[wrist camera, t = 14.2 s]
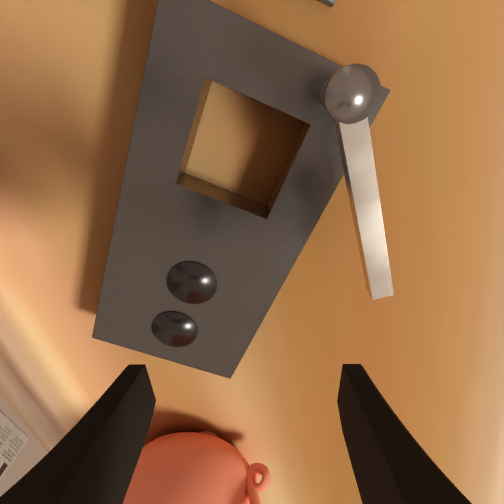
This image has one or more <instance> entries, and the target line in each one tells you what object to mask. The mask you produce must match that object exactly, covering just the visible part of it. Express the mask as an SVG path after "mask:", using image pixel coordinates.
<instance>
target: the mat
mask: <svg viewBox="0 0 504 504" xmlns="http://www.w3.org/2000/svg"><path fill="white" fill-rule="evenodd" d="M319 1H321V2H323V3H324V4H326V5H328V6H330V7H332V6H333V5H334V4H335V2H336V0H319Z"/></svg>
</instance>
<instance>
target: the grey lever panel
mask: <svg viewBox="0 0 504 504" xmlns="http://www.w3.org/2000/svg"><path fill="white" fill-rule="evenodd" d="M342 67H343V66H341V65H339V64H337V63H335V62H333V61H331V60H329V59H327V58H325V57H323V56H321V55H318V54H316V53H314V52H312V51H310V50H308V49H306V48H304V47H302V46H300V45H298V44H296V43H294V42H292V41H290V40H288V39H286V38H284V37H282V36H280V35H278V34H276V33H274V32H272V31H270V30H268V29H266V28H264V27H262V26H260V25H258V24H256V23H254V22H252V21H250V20H248V19H246V18H244V17H242V16H240V15H238V14H236V13H234V12H232V11H230V10H228V9H226V8H224V7H222V6H220V5H218V4H215V3H213V2H211V1H209V0H158V5H157V10H156V15H155V20H154V25H153V30H152V35H151V40H150V46H149V51H148V56H147V61H146V66H145V71H144V76H143V81H142V86H141V91H140V96H139V101H138V106H137V111H136V117H135V122H134V127H133V132H132V137H131V142H130V147H129V152H128V157H127V162H126V167H125V172H124V177H123V182H122V187H121V193H120V198H119V203H118V208H117V213H116V218H115V223H114V228H113V233H112V238H111V243H110V248H109V253H108V258H107V263H106V269H105V274H104V279H103V284H102V289H101V294H100V299H99V304H98V309H97V314H96V319H95V324H94V329H93V334H92V338H95V339H98V340H102V341H105V342H109V343H112V344H115V345H119V346H122V347H125V348H129V349H132V350H135V351H139V352H142V353H146V354H149V355H152V356H156V357H159V358H162V359H166V360H169V361H173V362H176V363H179V364H183V365H186V366H189V367H193V368H196V369H199V370H203V371H206V372H210V373H213V374H216V375H220V376H223V377H226V378H230V379H231V377H232V375H233V373H234V371H235V370H236V368H237V366H238V364H239V362H240V361H241V359H242V357H243V355H244V353H245V351H246V350H247V348H248V346H249V344H250V342H251V341H252V339H253V337H254V335H255V333H256V332H257V330H258V328H259V326H260V324H261V323H262V321H263V319H264V317H265V315H266V314H267V312H268V310H269V308H270V306H271V305H272V303H273V301H274V299H275V297H276V296H277V294H278V292H279V290H280V288H281V287H282V285H283V283H284V281H285V279H286V278H287V276H288V274H289V272H290V270H291V269H292V267H293V265H294V263H295V261H296V260H297V258H298V256H299V254H300V252H301V250H302V249H303V247H304V245H305V243H306V241H307V240H308V238H309V236H310V234H311V232H312V231H313V229H314V227H315V225H316V223H317V222H318V220H319V218H320V216H321V214H322V213H323V211H324V209H325V207H326V205H327V204H328V202H329V200H330V198H331V196H332V195H333V193H334V191H335V189H336V187H337V186H338V184H339V182H340V180H341V178H342V177H343V175H344V170H343V165H342V160H341V154H340V149H339V144H338V139H337V134H336V129H335V124H334V119H333V118H331V117H330V116H329V115H328V113H327V112H326V110H325V108H324V105H323V104H322V102H321V100H320V89H321V87H322V85H323V83H324V82H325V81H326V80H327V79H329V78H330V76H331V75H332V74H333V73H334V72H335V71H337V70H338V69H340V68H342ZM212 80H213V81H216V82H218V83H220V84H222V85H224V86H227V87H229V88H231V89H233V90H235V91H238V92H240V93H242V94H244V95H246V96H249V97H251V98H253V99H255V100H258V101H260V102H262V103H264V104H266V105H269V106H271V107H273V108H275V109H277V110H280V111H282V112H284V113H286V114H288V115H291V116H293V117H295V118H297V119H299V120H302V121H304V125H303V127H302V129H301V131H300V133H299V136H298V138H297V140H296V142H295V144H294V147H293V149H292V151H291V153H290V155H289V158H288V160H287V162H286V164H285V167H284V169H283V171H282V173H281V175H280V178H279V180H278V182H277V184H276V186H275V189H274V191H273V193H272V195H271V197H270V200H269V202H268V204H267V206H265V205H263V204H260V203H258V202H255V201H253V200H250V199H248V198H245V197H243V196H240V195H238V194H235V193H233V192H230V191H228V190H225V189H223V188H220V187H217V186H215V185H212V184H210V183H207V182H205V181H202V180H200V179H197V178H195V177H192V176H190V175H187V174H185V170H186V166H187V163H188V160H189V156H190V153H191V149H192V146H193V143H194V139H195V136H196V132H197V129H198V126H199V122H200V119H201V115H202V112H203V109H204V105H205V102H206V99H207V95H208V92H209V88H210V85H211V82H212ZM389 92H390V90H389V89H387V88H385V87H383V86H381V85H380V97H379V101H378V103H377V105H376V107H375V109H374V110H373V112H372V113H371V114H370V115H369V116H368V123H369V128H370V126H371V124H372V122H373V121H374V119H375V117H376V115H377V113H378V112H379V110H380V108H381V106H382V104H383V103H384V101H385V99H386V97H387V95H388V94H389Z"/></svg>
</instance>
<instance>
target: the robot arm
mask: <svg viewBox="0 0 504 504" xmlns="http://www.w3.org/2000/svg"><path fill="white" fill-rule="evenodd" d="M155 402H156V399H155V396H154V392H153V389H152V386H151V382H150V379H149V376H148V372H147V369H146V366H145V365H128V366H127V367H126V368H125V369H124V371H123V372H122V373H121V374H120V375H119V376H118V378H117V379H116V380H115V381H114V382H113V383H112V385H111V386H110V387H109V388H108V389H107V390H106V392H105V393H104V394H103V395H102V396H101V397H100V399H99V400H98V401H97V402H96V403H95V404H94V405H93V406H92V407H91V409H90V410H89V411H88V412H87V413H86V414H85V415H84V416H83V417H82V419H81V420H80V421H79V422H78V423H77V424H76V425H75V426H74V427H73V428H72V429H71V430H70V431H69V432H68V433H67V434H66V435H65V437H64V438H63V439H62V440H61V441H60V442H59V443H58V444H57V445H56V446H55V447H54V448H53V449H52V450H51V451H50V452H49V453H48V454H47V455H46V456H45V457H44V458H43V459H42V460H41V461H40V462H39V463H38V464H36V465H35V466H34V467H33V468H32V469H31V470H30V471H29V472H28V473H27V474H26V475H25V476H23V477H22V478H21V479H20V480H19V481H18V482H17V483H16V484H15V485H13V486H12V487H11V488H10V489H9V490H8V491H7V492H5V494H3V495H2V496H1V497H0V504H123V501H124V499H125V496H126V493H127V490H128V487H129V485H130V482H131V479H132V476H133V473H134V471H135V468H136V465H137V462H138V460H139V457H140V454H141V451H142V448H143V445H144V443H145V440H146V437H147V434H148V431H149V427H150V423H151V419H152V415H153V411H154V406H155ZM337 402H338V408H339V414H340V420H341V425H342V431H343V435H344V438H345V442H346V446H347V449H348V453H349V457H350V460H351V464H352V467H353V471H354V475H355V478H356V482H357V485H358V489H359V492H360V496H361V500H362V503H363V504H472V503H471V502H470V501H469V500H468V499H467V498H466V497H465V496H464V495H463V494H462V493H461V492H460V491H459V490H458V489H457V488H456V487H455V485H454V484H453V483H452V482H451V481H450V480H449V479H448V478H447V477H446V476H445V474H444V473H443V472H442V471H441V470H440V469H439V468H438V467H437V465H436V464H435V463H434V462H433V461H432V460H431V458H430V457H429V456H428V455H427V454H426V452H425V451H424V450H423V449H422V448H421V446H420V445H419V444H418V443H417V441H416V440H415V439H414V438H413V437H412V435H411V434H410V433H409V431H408V430H407V429H406V428H405V426H404V425H403V424H402V422H401V421H400V420H399V418H398V417H397V416H396V414H395V413H394V412H393V410H392V409H391V408H390V406H389V405H388V403H387V402H386V401H385V399H384V398H383V396H382V395H381V393H380V392H379V391H378V389H377V388H376V386H375V385H374V383H373V382H372V380H371V379H370V377H369V376H368V374H367V372H366V371H365V369H364V368H363V366H362V365H361V364H343V366H342V373H341V380H340V387H339V393H338V400H337Z"/></svg>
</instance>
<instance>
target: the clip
mask: <svg viewBox="0 0 504 504" xmlns="http://www.w3.org/2000/svg"><path fill="white" fill-rule="evenodd" d="M379 97H380V82H379V79H378V76H377V75H376V73H375V72H374V71H373V70H372V69H371V68H370V67H368V66H366V65H363V64H351V65H347V66H344V67H342V68H340V69H338V70H337V71H335V72H334V73H333V74H332V75H331V76H330V78H329V79H327V80H326V81H325V82H324V83H323V85H322V87H321V89H320V100H321V102H322V104H323V105H324V108H325V110H326V112H327V113H328V115H329V116H330V117H331V118H333V119H334V124H335V129H336V134H337V139H338V144H339V149H340V154H341V160H342V165H343V170H344V175H345V180H346V185H347V190H348V195H349V200H350V206H351V211H352V216H353V221H354V226H355V231H356V236H357V241H358V247H359V252H360V257H361V262H362V267H363V272H364V277H365V282H366V288H367V290H368V292H369V294H370V296H371V298H372V300H374V299H378V298H383V297H387V296H391V295H394V294H393V287H392V280H391V273H390V266H389V259H388V253H387V246H386V239H385V232H384V225H383V218H382V212H381V205H380V198H379V191H378V184H377V177H376V171H375V164H374V157H373V150H372V143H371V136H370V130H369V123H368V116H369V115H370V114H371V113H372V112H373V110H374V109H375V107H376V105H377V103H378V101H379Z"/></svg>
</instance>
